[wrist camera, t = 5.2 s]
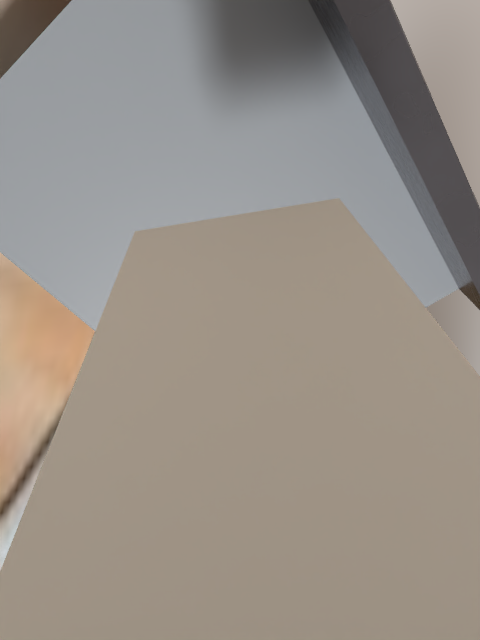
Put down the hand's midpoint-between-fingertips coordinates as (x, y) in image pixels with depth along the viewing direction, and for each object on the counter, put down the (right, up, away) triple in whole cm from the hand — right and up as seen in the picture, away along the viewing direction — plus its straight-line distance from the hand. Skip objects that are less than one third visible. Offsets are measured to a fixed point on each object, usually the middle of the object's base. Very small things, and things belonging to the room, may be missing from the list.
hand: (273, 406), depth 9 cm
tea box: (0, +1, +2) cm, 3 cm away
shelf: (-1, +7, +11) cm, 13 cm away
